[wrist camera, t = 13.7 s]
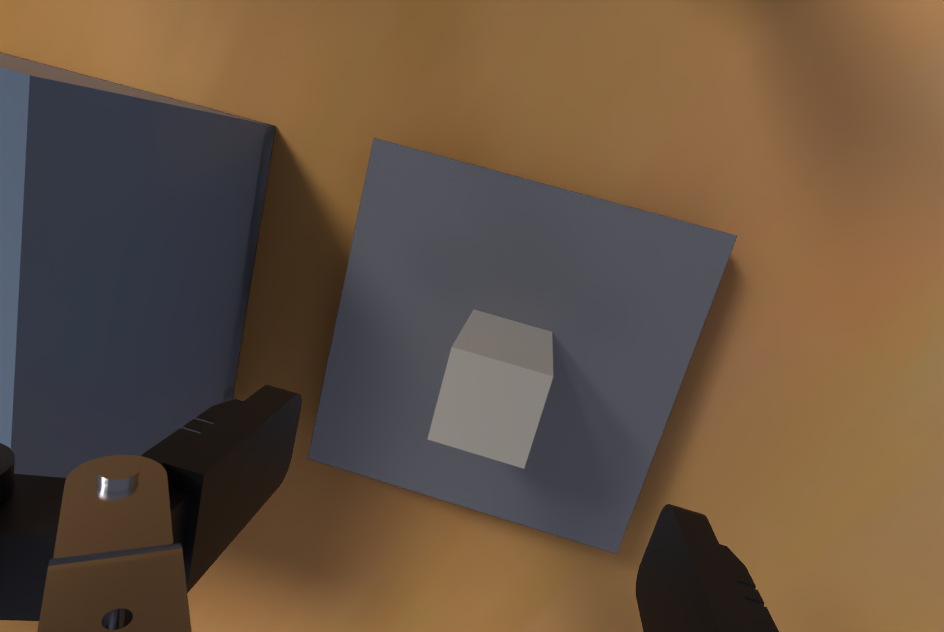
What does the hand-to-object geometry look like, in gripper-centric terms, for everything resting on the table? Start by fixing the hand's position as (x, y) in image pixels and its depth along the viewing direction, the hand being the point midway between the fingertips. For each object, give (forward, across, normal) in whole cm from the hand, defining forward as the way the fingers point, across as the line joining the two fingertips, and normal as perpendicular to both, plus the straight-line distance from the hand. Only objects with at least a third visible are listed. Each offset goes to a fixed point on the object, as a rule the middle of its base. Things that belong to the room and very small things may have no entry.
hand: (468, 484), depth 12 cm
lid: (+12, 0, 0) cm, 12 cm away
